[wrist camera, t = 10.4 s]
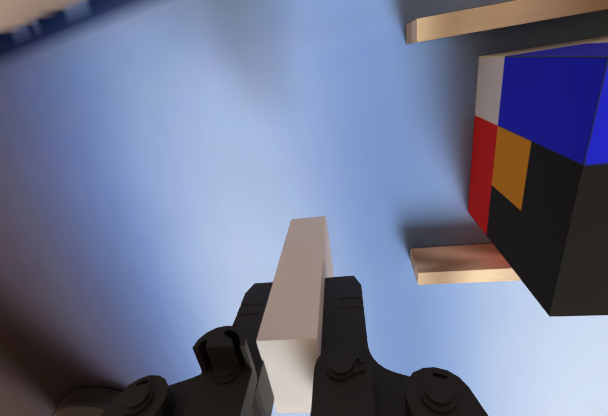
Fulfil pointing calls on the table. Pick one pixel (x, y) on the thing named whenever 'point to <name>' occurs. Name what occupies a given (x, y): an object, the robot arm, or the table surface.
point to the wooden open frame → (525, 9)
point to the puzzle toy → (546, 170)
